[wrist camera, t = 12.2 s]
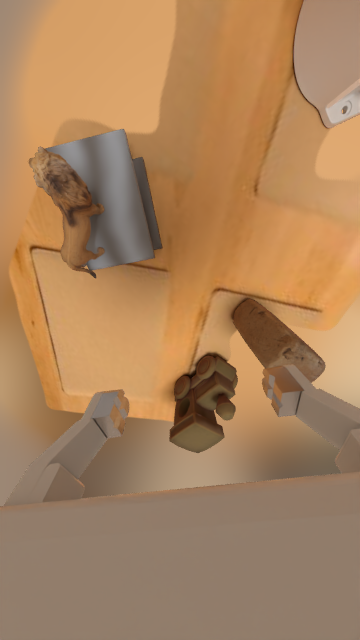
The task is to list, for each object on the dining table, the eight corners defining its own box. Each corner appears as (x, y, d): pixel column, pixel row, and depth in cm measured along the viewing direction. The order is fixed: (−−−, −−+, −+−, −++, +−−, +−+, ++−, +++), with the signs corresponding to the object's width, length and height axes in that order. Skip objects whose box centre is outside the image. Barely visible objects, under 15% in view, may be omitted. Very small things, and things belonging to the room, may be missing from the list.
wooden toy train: (194, 399, 57) (200, 455, 43) (168, 385, 54) (165, 441, 39) (237, 365, 50) (262, 419, 36) (211, 347, 47) (226, 398, 32)
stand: (142, 152, 28) (131, 126, 21) (163, 252, 35) (160, 257, 28) (64, 171, 28) (30, 152, 22) (101, 265, 36) (84, 271, 29)
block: (225, 314, 42) (261, 373, 24) (247, 292, 39) (305, 340, 22) (253, 336, 45) (302, 401, 28) (275, 317, 43) (345, 375, 25)
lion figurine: (64, 170, 23) (3, 135, 15) (102, 175, 23) (63, 143, 15) (82, 275, 30) (47, 291, 22) (112, 278, 30) (89, 294, 22)
